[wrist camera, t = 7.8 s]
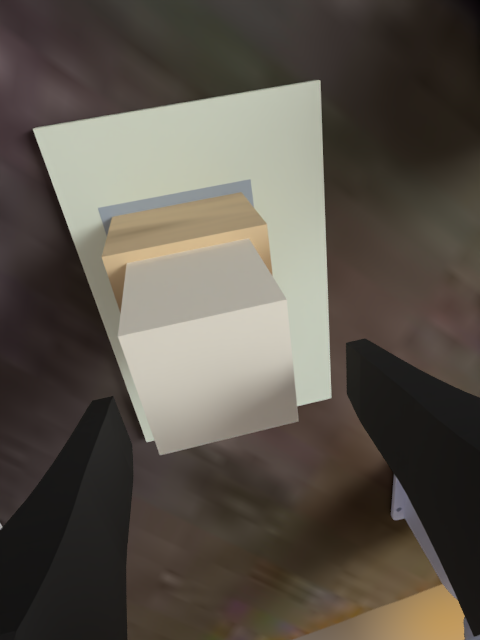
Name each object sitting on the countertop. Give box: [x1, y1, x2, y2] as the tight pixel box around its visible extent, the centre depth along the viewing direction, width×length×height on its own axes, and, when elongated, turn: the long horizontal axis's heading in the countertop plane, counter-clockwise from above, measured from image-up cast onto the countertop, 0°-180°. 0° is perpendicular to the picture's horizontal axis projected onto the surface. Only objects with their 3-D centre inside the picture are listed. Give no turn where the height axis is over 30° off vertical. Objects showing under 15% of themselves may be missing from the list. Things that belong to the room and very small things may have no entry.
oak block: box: [102, 192, 273, 314], centre depth 19 cm, size 6×6×5 cm
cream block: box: [118, 238, 299, 455], centre depth 14 cm, size 4×4×5 cm
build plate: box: [33, 80, 331, 442], centre depth 22 cm, size 18×12×1 cm, turn 8°
